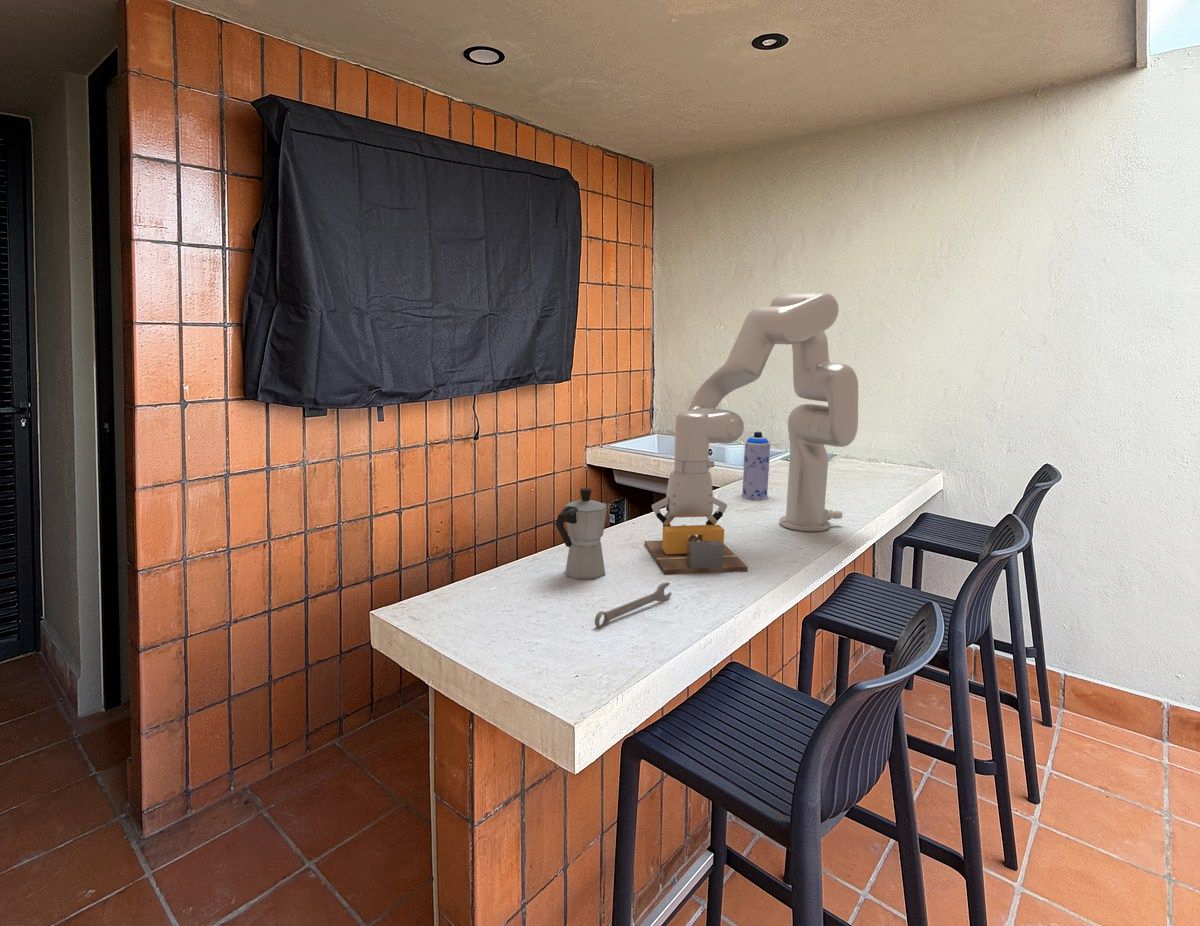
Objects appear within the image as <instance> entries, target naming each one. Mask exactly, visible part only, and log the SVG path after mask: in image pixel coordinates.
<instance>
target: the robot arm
mask: <svg viewBox="0 0 1200 926" xmlns="http://www.w3.org/2000/svg"><path fill="white" fill-rule="evenodd" d="M839 310H840V309H839V304H838V301H837V299H836V297H834V296H833V295H832V294H831V293H828V292H823V291H821V292H791V293H783V294H779V295H777V296H776V297H774V298H773V299H772V300H771V302H770V305H769V306H760V307H756V308H754V309H752V310H751V311H750V312H749V313H747V315H746V317H745V319H744V321H743V324H742V325H741V328H740V330H739V332H738V334H737V337H736V338H735V339H736V340H735V341H734V344H733V346H732V348H731V350H730V351H729V354H728V356H727V359H726V361H725V362H724V364H723V365H722V366H720V367H719V368H718V369H716V370H715V371H714V372H713V373H712V374H711V375H709V377H708V378H707V379H706V380H705V381H704V382H703V383H702V384H701V385H700V387H699V388H698V389H697V391H696V393H695V394H694V396H693V399H692V401H691V403H690V405H689V407H688V408H687V409H688V410H687V411H680V412H679V413H677V415H676V418H675V431H674V433H675V435H674V437H675V438H674V464H673V470H672V471H670V473H669V477H668V482H667V489H666V497H664V498H663V499H661V500H659V501H657V502H655V503H653V504H651V508H652V511H653V512H654V514H655V517H656V518H657V519H658V520H659V521H660V522H661V523H662V527H663V526H672V525H671V522H672V521H673V520H674V519H676V518H701V517H702V518H704V517H706V519H707V520H706V522H705V525H717V523H718V521H719V520H720V519H721V518H722V517H723V515H724V513H725V512H726V509H727V508H728V504H726V502H724V501H721V499H720V500H719V499H718V498H716V497H714V492H713V491H714V490H713V483H712V482H713V481H712V475H711V473H710V471H709V470H710V469H712V468H715V462H714V460H713V461H711V460H709V453H710V452H709V450H710V449H709V448H710V446H709V445H710V444H724V445H725V444H732V443H734V442H736V441H737V440H738V439H740V438H741V436H742V435H743V433H744V429H745V425H744V421H743V419H742V417H741V416H740V415H739V414H738V413H736V412H734V411H733V410H727V409H721V408H717V407H718V406H719V404H720V402H722V400H723V399H724V398H725V397H727V396H728V395H729V394H730V393H732V392H733V391H736V390H737V389H740V388H743V387H745V386H747V385H749V384H751V383H753V382H756V381H757V380H758V379H760V377H761V375H762V373H763V371H764V368H765V367H766V365H767V362H768V360H769V357H770V355H771V353H772V350H773V348H774V346H775V345H791V348H792V349H791V350H792V351H791V352H792V379H793V381H792V382H793V390H794V393H795V395H796V396H797V397H798V398H801V399H804V400H809V401H815V402H816V401H817V402H826V403H827V405H828V406H827V405H823V404H814V403H804V404H800V405H797V406H796V407H794V408H793V409H792V410H791V411H790V412H789V414H788V418H787V430H788V431H787V433H788V437H789V438H788V440H789V464H788V465H789V466H788V478H787V479H788V480H787V493H786V494H787V495H786V507H785V508H786V509H785V515H784V516H781V517H780V518H779V524H780V526H782V527H784V528H787V529H789V530H794V531H800V532H822V531H827V530H829V528H830V527H831V524H830V521H831V519H834V520H839V519H842V518H843V512H842V511H838V510H836V511H833V510H832V509H828V508H826V495H827V494H826V493H827V483H828V482H827V480H828V469H829V457H828V452H827V450H826V447H825V446H830V447H836V448H837V447H839V448H842V447H844V448H845V447H846V446H849V445H850V444H852V443H853V441H854V440H855V438H856V437H857V433H858V427H859V425H858V424H859V380H858V379H859V378H858V376H857V373H856V372H855V370H854V369H853V368H852V367H851V366H850V365H848V364H846V363H842V362H830V356H829V343H828V342H829V341H828V337H827V335H826V332H825V331H826V330H828V329H830V328H831V327H832V326H833V325H834V324H835V322H836V321H837V318H838V316H839ZM714 505H715V506H718V508H717V509H716V511H715V512H714V513H713V509H714ZM663 507H665V510H666V511H667V512H666V513H665V514H664V515H663V513H661V509H662V508H663Z"/></svg>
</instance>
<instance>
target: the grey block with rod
mask: <svg viewBox="0 0 1200 926" xmlns="http://www.w3.org/2000/svg"><path fill="white" fill-rule="evenodd" d="M680 526H687V525H686V524H681V525H680ZM688 541H689V542H687V560H686V564H687V566H688V567H689V568H690V569H700V568H723V547H724V545H723V544H722V543H721V542H720V541H702V540H701V539H699V538H698V537H697V535H689V538H688Z"/></svg>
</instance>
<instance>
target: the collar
mask: <svg viewBox="0 0 1200 926" xmlns="http://www.w3.org/2000/svg"><path fill="white" fill-rule="evenodd" d="M689 535H696V536H697V537H698V538H699V539H701V540H702V541H720V542H721V543H722V544H723V545H724V544H725V529H724V528H723V527H722V526H721V525H720V524H715V525H706V524H699V525H697V524H696V525H695V524H693V525H692V524H691V525H686V526H681V525H671V526H663V525H662V549H663V550H664V552H665V553H666V554H685V553H687V542H688V538H689ZM723 548H724V547H723Z"/></svg>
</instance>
